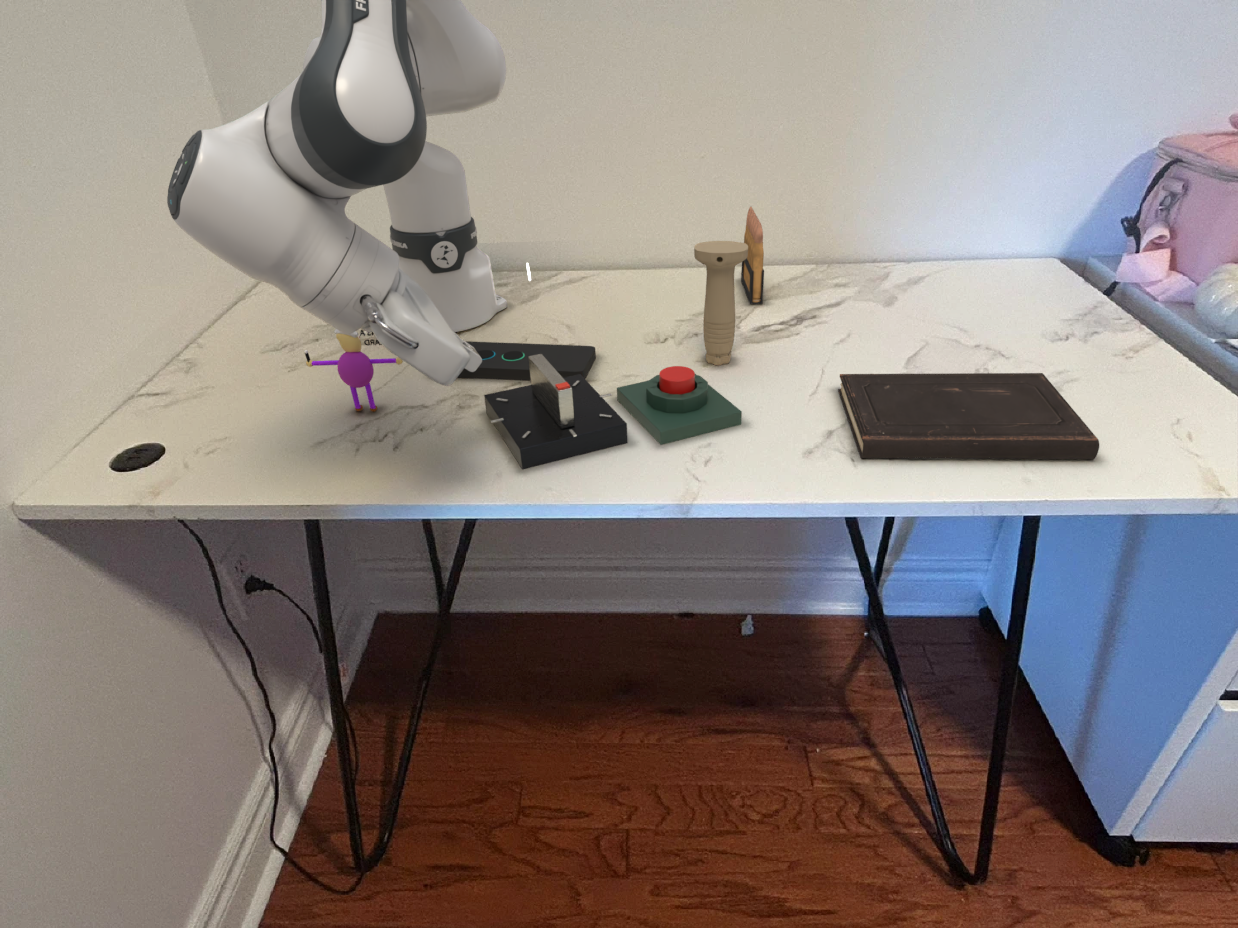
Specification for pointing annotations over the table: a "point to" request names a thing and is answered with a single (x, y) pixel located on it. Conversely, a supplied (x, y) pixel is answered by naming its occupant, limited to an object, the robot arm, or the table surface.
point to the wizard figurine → (355, 365)
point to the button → (677, 380)
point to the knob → (552, 391)
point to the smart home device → (514, 360)
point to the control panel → (554, 424)
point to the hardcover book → (963, 417)
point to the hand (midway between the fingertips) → (475, 361)
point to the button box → (678, 410)
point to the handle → (719, 296)
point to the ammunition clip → (753, 260)
